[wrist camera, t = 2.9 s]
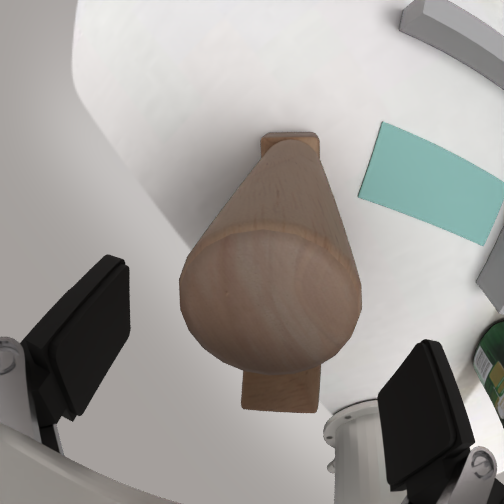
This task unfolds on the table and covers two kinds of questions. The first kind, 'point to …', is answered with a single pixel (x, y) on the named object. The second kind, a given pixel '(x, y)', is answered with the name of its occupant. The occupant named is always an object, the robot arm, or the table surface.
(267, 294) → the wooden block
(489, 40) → the corner wall
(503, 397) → the coffee jar
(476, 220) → the pad
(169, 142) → the table surface
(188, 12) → the table surface
